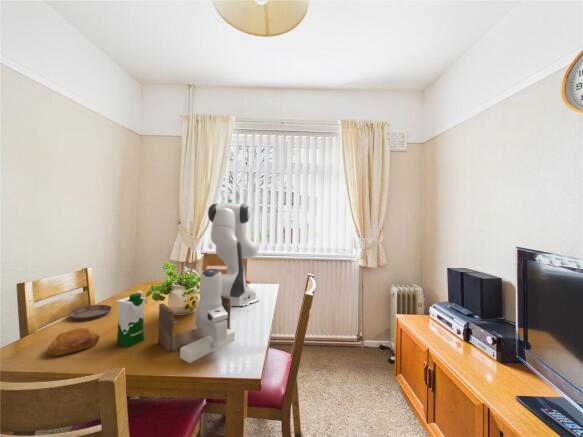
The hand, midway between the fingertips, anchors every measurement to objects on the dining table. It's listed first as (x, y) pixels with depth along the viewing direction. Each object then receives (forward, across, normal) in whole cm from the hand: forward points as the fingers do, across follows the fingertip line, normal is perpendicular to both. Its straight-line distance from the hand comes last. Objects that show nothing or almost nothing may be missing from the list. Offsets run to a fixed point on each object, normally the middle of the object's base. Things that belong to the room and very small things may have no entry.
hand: (209, 344), depth 103 cm
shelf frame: (+2, -13, 0) cm, 13 cm away
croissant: (+2, -37, -39) cm, 54 cm away
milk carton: (+2, -27, -22) cm, 35 cm away
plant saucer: (+2, -73, -30) cm, 79 cm away
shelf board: (+2, 0, 0) cm, 2 cm away
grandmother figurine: (+2, -59, -11) cm, 60 cm away
